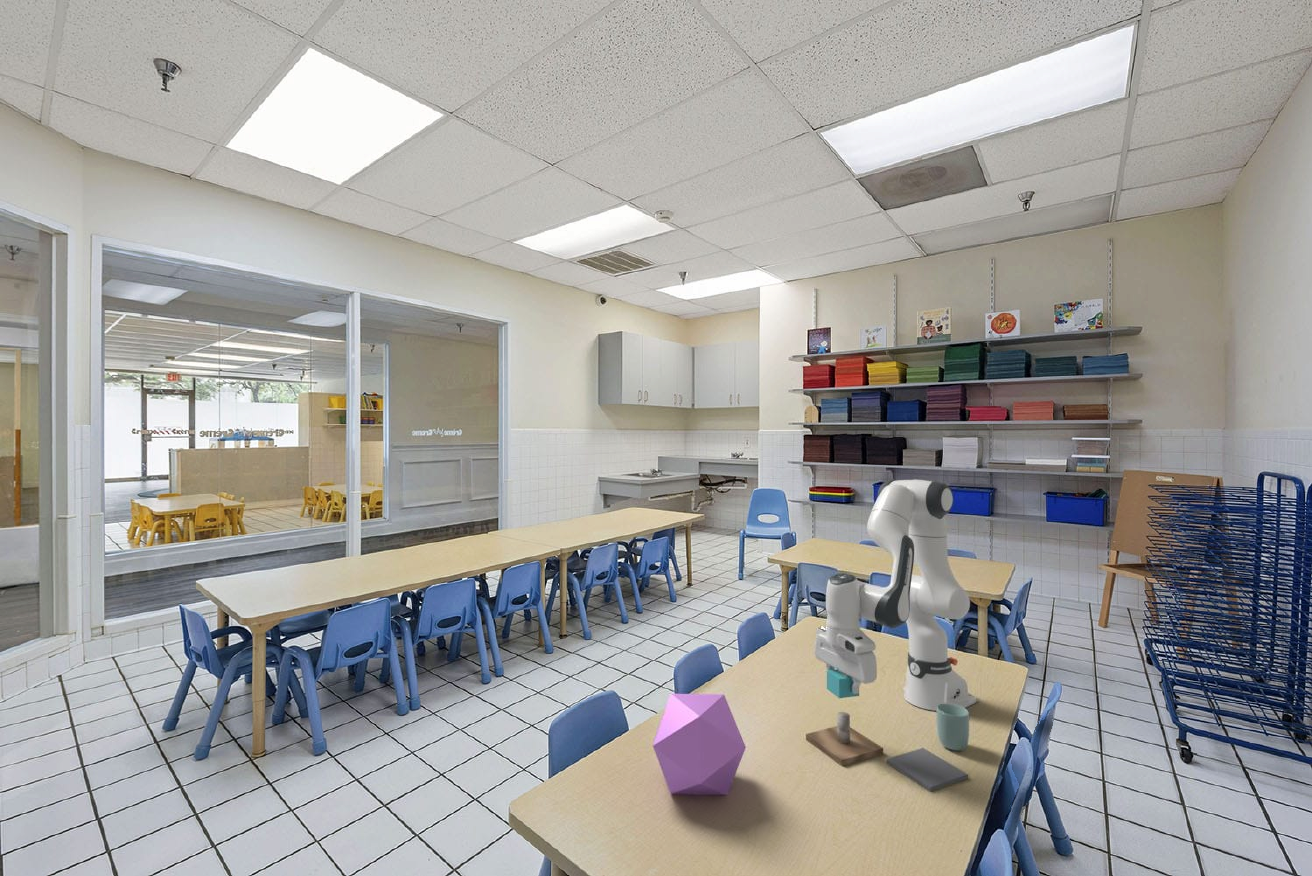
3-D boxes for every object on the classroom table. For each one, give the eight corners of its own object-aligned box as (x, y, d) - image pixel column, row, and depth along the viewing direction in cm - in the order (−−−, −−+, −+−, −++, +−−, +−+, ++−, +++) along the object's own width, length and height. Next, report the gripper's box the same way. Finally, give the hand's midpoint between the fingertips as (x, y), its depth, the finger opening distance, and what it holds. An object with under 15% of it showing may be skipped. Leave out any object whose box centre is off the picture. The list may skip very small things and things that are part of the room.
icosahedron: (655, 721, 150) (654, 669, 135) (734, 722, 149) (741, 670, 135) (653, 815, 132) (651, 768, 117) (743, 817, 131) (752, 770, 117)
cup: (966, 741, 152) (966, 705, 153) (972, 756, 145) (972, 718, 145) (934, 737, 155) (934, 700, 155) (939, 751, 148) (938, 713, 148)
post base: (845, 729, 159) (845, 699, 159) (883, 753, 147) (883, 721, 147) (805, 739, 154) (805, 708, 154) (841, 765, 141) (841, 732, 141)
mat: (923, 751, 148) (923, 747, 148) (967, 778, 136) (967, 774, 136) (886, 762, 142) (886, 758, 142) (930, 791, 130) (930, 787, 130)
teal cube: (826, 688, 153) (826, 669, 153) (846, 686, 154) (846, 667, 154) (839, 698, 147) (839, 678, 147) (859, 695, 148) (859, 676, 148)
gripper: (808, 625, 159) (809, 674, 159) (861, 649, 140) (862, 704, 140) (826, 622, 161) (826, 670, 161) (880, 645, 143) (881, 699, 143)
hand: (844, 686), depth 150 cm, fingers closed on teal cube, 6 cm apart
